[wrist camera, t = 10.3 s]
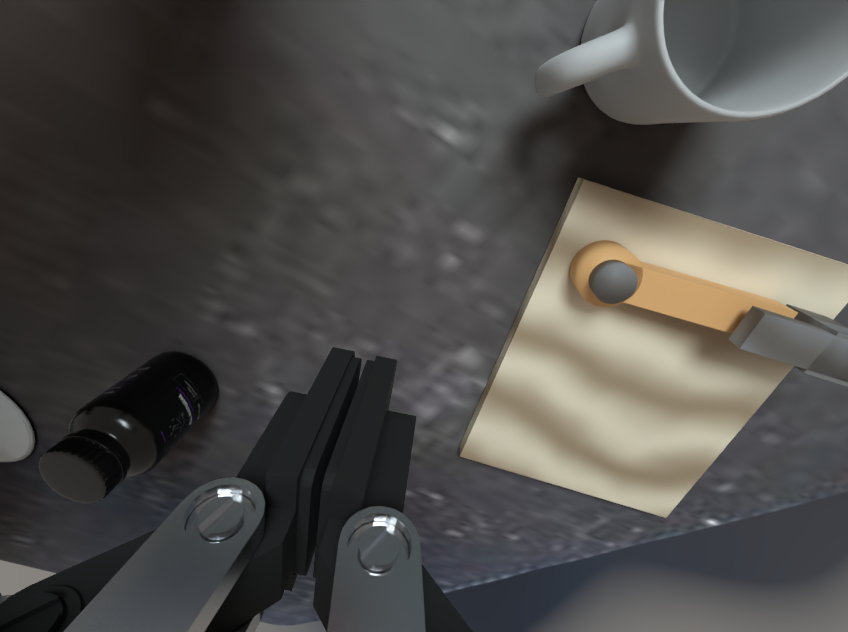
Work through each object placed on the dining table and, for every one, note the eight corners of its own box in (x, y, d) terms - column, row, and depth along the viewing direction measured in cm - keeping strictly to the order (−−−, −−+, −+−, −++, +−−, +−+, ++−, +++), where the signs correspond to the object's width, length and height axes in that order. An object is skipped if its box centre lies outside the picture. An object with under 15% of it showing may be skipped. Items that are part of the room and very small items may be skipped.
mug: (731, -81, 21) (965, -266, 11) (737, 94, 24) (923, 71, 14) (505, 16, 24) (531, -63, 14) (537, 162, 27) (577, 183, 17)
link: (560, 286, 28) (567, 297, 27) (584, 232, 27) (593, 240, 25) (747, 340, 29) (766, 354, 27) (783, 290, 27) (806, 302, 25)
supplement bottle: (235, 386, 38) (141, 491, 27) (193, 420, 40) (91, 528, 29) (176, 334, 36) (49, 424, 25) (136, 372, 38) (5, 469, 27)
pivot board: (578, 177, 27) (604, 188, 22) (852, 265, 28) (942, 298, 22) (460, 444, 38) (458, 495, 33) (659, 504, 38) (689, 563, 33)
